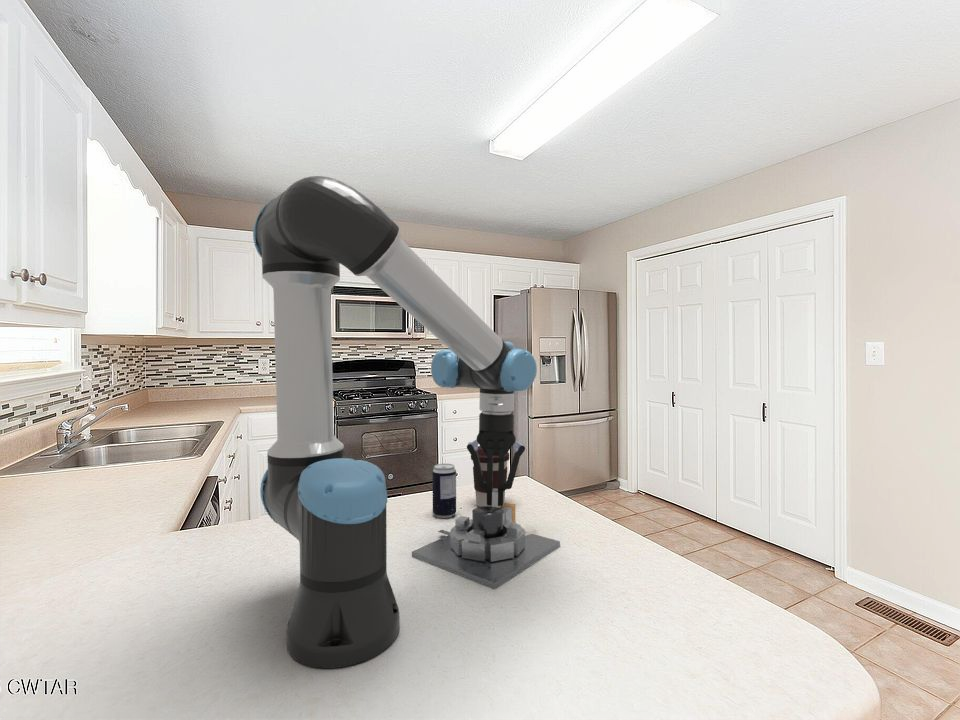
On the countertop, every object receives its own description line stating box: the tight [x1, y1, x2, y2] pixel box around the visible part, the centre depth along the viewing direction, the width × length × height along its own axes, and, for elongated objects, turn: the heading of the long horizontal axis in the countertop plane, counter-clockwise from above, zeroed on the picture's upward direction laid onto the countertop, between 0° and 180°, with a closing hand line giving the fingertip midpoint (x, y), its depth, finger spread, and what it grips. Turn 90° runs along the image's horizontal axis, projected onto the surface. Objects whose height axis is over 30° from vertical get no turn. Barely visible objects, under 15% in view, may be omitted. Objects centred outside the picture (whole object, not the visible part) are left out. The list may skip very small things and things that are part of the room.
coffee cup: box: [470, 445, 510, 508], centre depth 122 cm, size 10×10×15 cm
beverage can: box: [432, 463, 457, 519], centre depth 114 cm, size 6×6×12 cm
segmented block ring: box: [449, 502, 526, 562], centre depth 96 cm, size 14×20×5 cm
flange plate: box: [411, 506, 561, 590], centre depth 95 cm, size 24×23×8 cm
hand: (494, 519), depth 103 cm, fingers closed
